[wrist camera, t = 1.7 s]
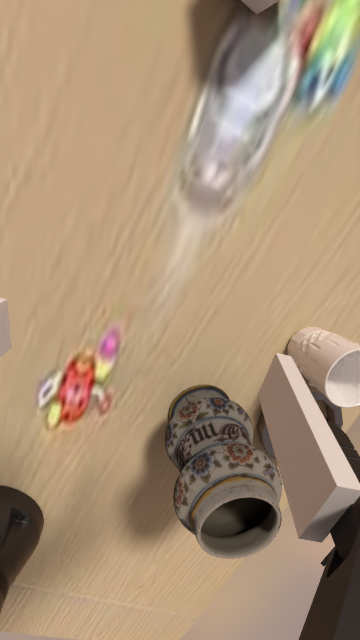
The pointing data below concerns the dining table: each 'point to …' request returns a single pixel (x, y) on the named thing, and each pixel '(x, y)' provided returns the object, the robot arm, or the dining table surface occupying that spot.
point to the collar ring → (332, 409)
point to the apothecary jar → (221, 475)
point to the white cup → (328, 364)
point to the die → (259, 4)
